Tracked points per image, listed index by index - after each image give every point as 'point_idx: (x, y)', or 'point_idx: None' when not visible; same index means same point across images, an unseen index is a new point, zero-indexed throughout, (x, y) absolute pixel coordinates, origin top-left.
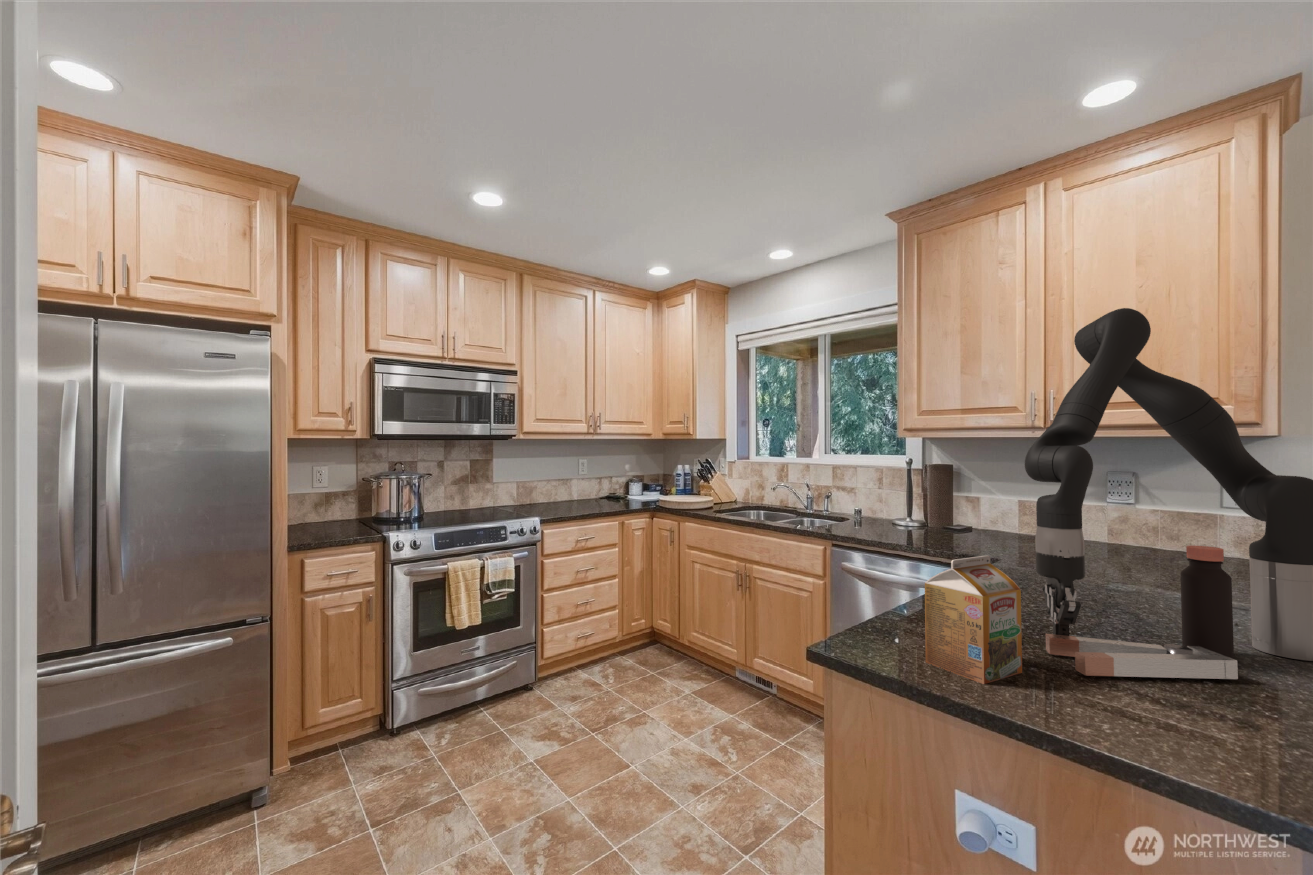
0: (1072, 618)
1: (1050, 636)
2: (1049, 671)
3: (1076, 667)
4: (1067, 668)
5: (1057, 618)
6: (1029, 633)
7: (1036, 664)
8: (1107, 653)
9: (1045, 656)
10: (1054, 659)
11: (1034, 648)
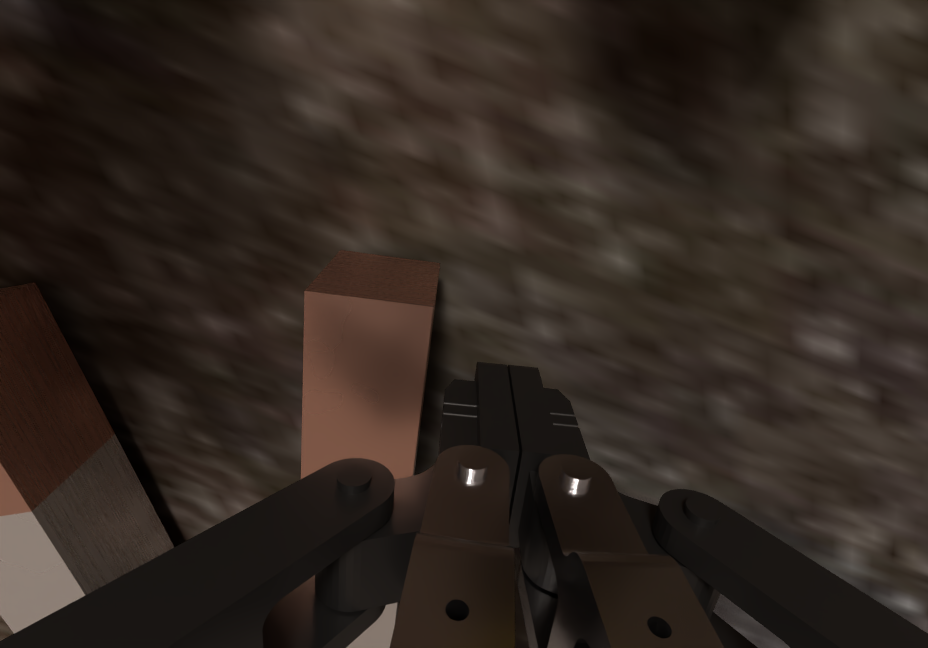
0: (278, 614)
1: (340, 312)
2: (6, 112)
3: (9, 290)
4: (144, 267)
5: (371, 493)
6: (906, 324)
7: (132, 74)
8: (28, 530)
9: (361, 222)
10: (312, 258)
11: (537, 216)
